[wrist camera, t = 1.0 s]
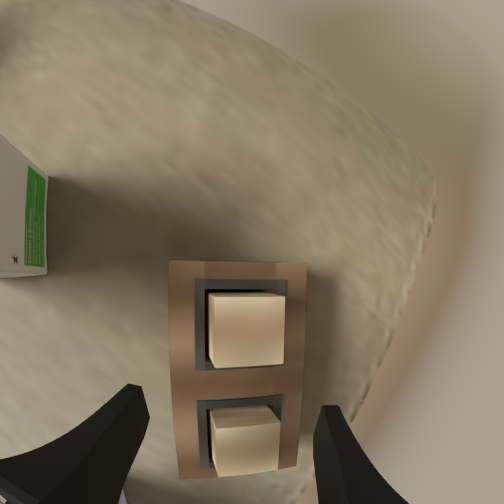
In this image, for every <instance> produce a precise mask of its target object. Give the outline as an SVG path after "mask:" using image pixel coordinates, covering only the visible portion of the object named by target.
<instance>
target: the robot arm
mask: <svg viewBox="0 0 504 504" xmlns="http://www.w3.org/2000/svg"><path fill="white" fill-rule="evenodd" d="M149 419H150V416H149V412H148V409H147V405H146V402H145V398H144V394H143V390H142V386H138V385H133V384H127V385H126V386H125V387H123V388H122V389H121V390H120V391H119V392H118V393H117V394H116V395H115V396H114V397H112V398H111V399H110V400H109V401H108V402H107V403H106V404H104V405H103V406H102V407H101V408H100V409H99V410H97V411H96V412H95V413H94V414H93V415H91V416H90V417H89V418H87V419H86V420H85V421H83V422H82V423H81V424H79V425H78V426H77V427H75V428H74V429H72V430H71V431H69V432H68V433H66V434H64V435H63V436H61V437H59V438H58V439H56V440H54V441H52V442H50V443H48V444H46V445H44V446H42V447H39V448H37V449H34V450H32V451H29V452H26V453H23V454H20V455H17V456H13V457H9V458H5V459H0V495H1V496H2V497H3V498H4V499H6V500H7V501H6V503H5V504H127V501H126V498H125V494H124V491H123V486H124V482H125V480H126V477H127V475H128V473H129V470H130V468H131V466H132V464H133V461H134V459H135V457H136V455H137V452H138V450H139V448H140V446H141V443H142V441H143V439H144V436H145V433H146V429H147V426H148V422H149ZM313 458H314V467H315V475H316V483H317V492H318V500H319V501H318V502H319V504H409V503H408V502H407V501H406V500H404V499H403V498H402V497H401V496H400V495H399V494H398V493H397V492H396V491H395V490H394V489H393V488H392V487H391V486H390V485H389V484H388V483H387V482H386V480H385V479H384V478H383V477H382V476H381V475H380V473H379V472H378V471H377V470H376V468H375V467H374V466H373V464H372V463H371V461H370V460H369V459H368V457H367V456H366V454H365V453H364V451H363V450H362V448H361V446H360V445H359V443H358V442H357V440H356V438H355V437H354V435H353V433H352V431H351V429H350V427H349V426H348V424H347V422H346V420H345V418H344V416H343V414H342V412H341V409H340V407H339V406H338V405H322V408H321V412H320V415H319V419H318V422H317V425H316V428H315V432H314V435H313ZM0 504H3V503H2V502H1V501H0Z"/></svg>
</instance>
